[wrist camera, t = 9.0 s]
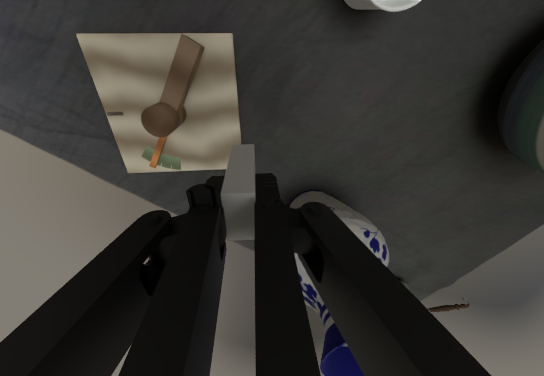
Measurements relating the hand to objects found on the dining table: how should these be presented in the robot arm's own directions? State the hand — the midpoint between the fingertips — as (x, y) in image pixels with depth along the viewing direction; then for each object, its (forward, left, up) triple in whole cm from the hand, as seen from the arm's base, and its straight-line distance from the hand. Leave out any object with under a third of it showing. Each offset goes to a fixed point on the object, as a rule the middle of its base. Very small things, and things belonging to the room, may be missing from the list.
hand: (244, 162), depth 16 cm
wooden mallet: (+1, -13, -25) cm, 28 cm away
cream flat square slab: (+1, -13, -27) cm, 29 cm away
